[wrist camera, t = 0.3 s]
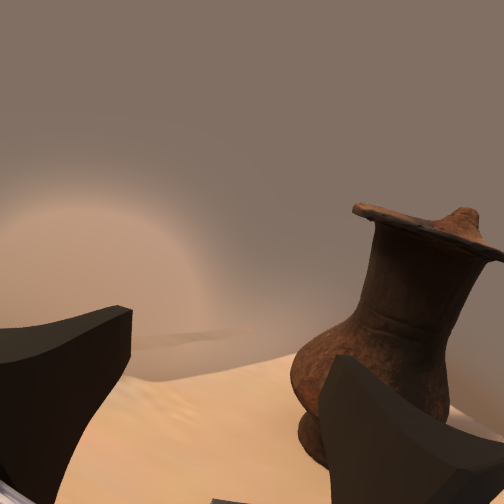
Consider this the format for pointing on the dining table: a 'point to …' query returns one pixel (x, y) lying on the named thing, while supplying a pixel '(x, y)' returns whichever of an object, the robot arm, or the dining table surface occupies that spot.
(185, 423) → the dining table surface
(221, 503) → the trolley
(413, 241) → the jug
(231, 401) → the dining table surface
